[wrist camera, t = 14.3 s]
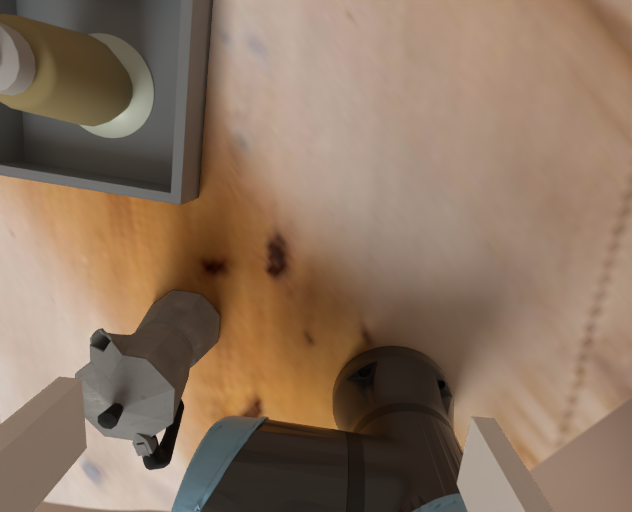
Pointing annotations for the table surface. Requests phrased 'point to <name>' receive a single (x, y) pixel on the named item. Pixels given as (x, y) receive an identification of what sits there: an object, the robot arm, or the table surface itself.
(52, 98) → the squeeze bottle
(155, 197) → the bin
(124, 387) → the coffeepot
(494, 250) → the table surface
